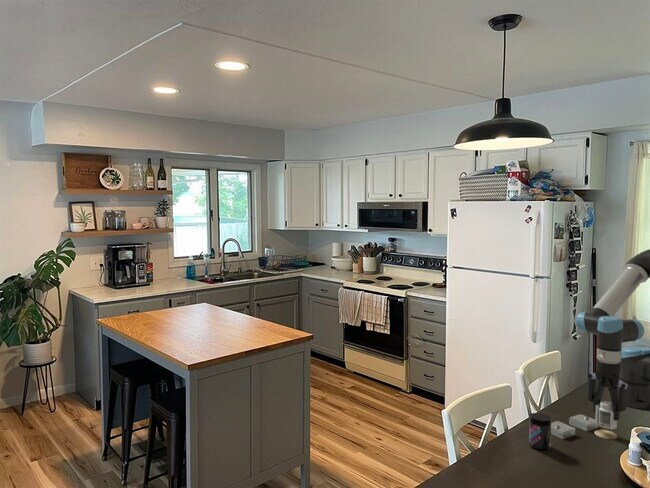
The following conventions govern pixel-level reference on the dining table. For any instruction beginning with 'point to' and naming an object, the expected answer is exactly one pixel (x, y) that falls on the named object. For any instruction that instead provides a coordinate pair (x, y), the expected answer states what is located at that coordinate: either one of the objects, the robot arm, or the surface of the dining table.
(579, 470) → the dining table surface
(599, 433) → the cork coaster
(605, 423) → the pill bottle
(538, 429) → the supplement container
